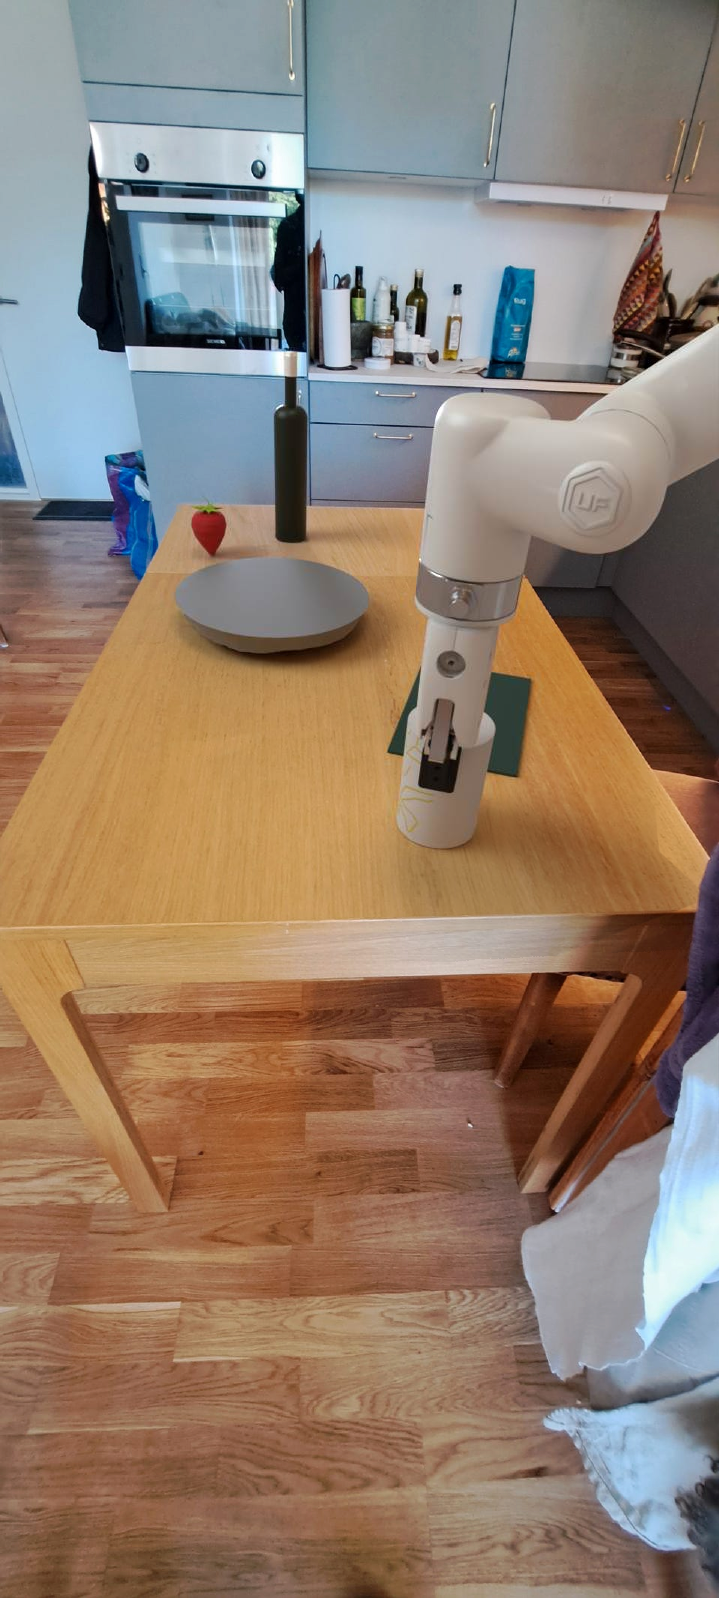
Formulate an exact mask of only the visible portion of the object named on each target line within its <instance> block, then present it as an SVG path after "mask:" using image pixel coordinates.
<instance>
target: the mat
mask: <svg viewBox="0 0 719 1598" xmlns="http://www.w3.org/2000/svg"><path fill="white" fill-rule="evenodd" d="M421 666H422V663H421V664H420V668H419V669H418V672H417V675H416V677H415V680H414V682H413V684H412V688H411V690H410V692H409V695H408V697H407V699H406V703H405V705H404V707H403V710H402V713H401V715H400V717H399V720H398V723H397V725H396V728H395V730H394V733H393V735H392V738H391V741H390V742H389V745H388V748H387V751H386V753H388V754H393V755H398V756H403V757H404V749H405V740H406V731H407V723H408V716H409V714H410V713H411V711H412V710H413V709H415V708H416V707H417V701H418V691H419V683H420V674H421ZM531 682H532V678H529V677H523V676H517V675H511V674H506V673H500V672H494V671H492V672H491V677H490V683H489V687H488V693H487V698H486V703H485V707H484V713H486V714H487V715H488V716H489V717H490V718H491V719H492V721H493V722H494V724H495V734H494V739H493V744H492V749H491V754H490V759H489V764H488V769H487V773H492V774H497V775H503V776H507V777H513V778H518V774H519V768H520V760H521V753H522V747H523V739H524V734H525V733H524V731H525V725H526V717H527V710H528V704H529V697H530V691H531V684H532V683H531Z"/></svg>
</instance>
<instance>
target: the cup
mask: <svg viewBox="0 0 719 1598" xmlns="http://www.w3.org/2000/svg"><path fill="white" fill-rule="evenodd" d="M416 712H417V707H416V708H415V709H413V710H412V711H411V713H410V714H409V716H408V723H407V731H406V740H405V749H404V756H403V757H402V758H403V759H402V767H401V777H400V784H399V792H398V793H399V794H398V802H397V810H396V824H397V827H398V829H399V831H400V832H401V834H402V835H403V836H405V838H406V839H408V840H409V841H411V842H412V843H415V844H417V845H420V846H423V847H426V848H430V849H439V850H440V849H441V850H443V849H444V850H446V849H452V848H453V849H454V848H457V847H459V846H462V845H465V844H466V843H467V842H469V841H470V840H471V839H472V837H473V836H474V834H475V831H476V827H477V822H478V817H479V813H480V808H481V807H480V806H481V802H482V797H483V794H484V793H483V792H484V787H485V782H486V779H487V778H486V777H487V774H488V772H487V769H488V764H489V759H490V754H491V749H492V744H493V739H494V734H495V724H494V722H493V721H492V719H491V718H490V717H489V716H488V715H487V714H486V713H484V712H483V717H482V721H481V726H480V730H479V734H478V738H477V742H476V744H475V745H474V746H473V747H471V748H467V747H464V746H460V747H462V751H461V757H460V763H459V768H458V774H457V780H456V784H455V788H454V792H453V793H445V792H440V791H435V790H429V789H424V788H420V787H419V786H418V780H419V772H420V765H421V757H422V750H423V747H424V744H425V740H426V735H425V737H422V739H420V738H419V737H418V736H417V735H416V733H415V725H416Z"/></svg>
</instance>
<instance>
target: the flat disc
mask: <svg viewBox="0 0 719 1598" xmlns="http://www.w3.org/2000/svg"><path fill="white" fill-rule="evenodd" d="M364 585H365V584H364V583H362V582H361V581H360V580H359V579H357V578H356V577H355V576H353V575H352V574H350V573H348V572H346V571H345V570H341V569H339V568H336V567H334V566H331V565H328V564H326V563H325V564H324V563H320V562H317V561H311V560H307V559H299V558H290V557H279V556H278V557H273V556H272V557H271V556H267V557H266V556H264V557H263V556H259V557H246V558H238V559H237V558H236V559H231V560H226V561H222V562H218V563H214V564H209V565H208V566H204V567H202V568H200V569H198V570H196V571H193V572H191V573H190V574H189V575H188V576H186V577H185V578H183V579H182V580H181V581H180V582H179V584H178V585H177V587H176V589H175V592H174V600H175V603H176V606H177V607H178V609H179V610H180V611H181V612H182V613H183V614H184V617H185V619H186V621H187V622H188V624H190V625H191V627H192V628H193V629H194V630H195V631H196V632H197V633H198V634H200V635H201V636H202V637H203V638H205V639H207V640H209V641H211V642H213V643H214V644H218V645H219V646H226V647H227V648H228V649H232V650H236V651H237V652H240V653H241V652H244V653H247V652H249V653H251V654H268V653H269V654H270V653H276V652H282V651H283V652H284V651H302V650H306V649H313V648H320V647H323V646H327V645H331V644H333V643H335V642H337V641H341V640H343V638H345V637H346V636H347V635H348V634H349V633H351V632H352V631H353V630H354V629H355V627H356V626H357V624H358V623H359V621H360V618H361V616H362V615H364V613H365V611H367V609H368V606H369V604H370V594H369V591H368V589H367V588H366V586H364Z"/></svg>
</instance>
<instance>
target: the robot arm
mask: <svg viewBox="0 0 719 1598" xmlns="http://www.w3.org/2000/svg"><path fill="white" fill-rule="evenodd" d="M432 433H433V434H432V440H431V449H430V456H429V457H430V458H429V466H428V467H429V468H428V476H427V485H426V493H425V503H424V504H425V505H424V512H423V521H422V531H421V542H420V549H419V550H420V551H419V559H418V568H417V576H416V577H417V578H416V585H415V593H414V606H415V607H416V609H417V610H418V611H419V612H420V613H421V614H422V615H424V616H425V617H427V621H426V628H425V636H424V644H423V650H422V657H421V664H422V666H421V665H420V667H421V674H420V683H419V691H418V701H417V712H416V725H415V733H416V735H417V736H418V737H419V738H420V739H422V737H425V735H426V740H425V744H424V747H423V750H422V757H421V765H420V772H419V780H418V786H419V787H420V788H424V789H429V790H435V791H440V792H445V793H453V792H454V788H455V784H456V780H457V774H458V768H459V763H460V757H461V751H462V747H460V746H464V747H467V748H471V747H473V746H474V745H475V744H476V742H477V738H478V734H479V730H480V726H481V721H482V717H483V712H484V707H485V703H486V698H487V693H488V687H489V683H490V677H491V672H493V666H494V661H495V656H496V650H497V644H498V639H499V632H500V626H502V625H505V624H507V623H509V622H510V621H512V620H513V619H514V618H515V616H516V613H517V608H518V602H519V598H520V594H521V593H520V592H521V587H522V582H523V577H524V574H525V568H526V563H527V557H528V553H529V549H530V543H531V540H532V539H531V538H532V536H533V537H535V538H538V539H540V540H543V541H545V542H548V543H550V544H554V545H556V546H559V547H561V548H564V549H566V550H570V551H574V552H579V553H582V554H583V553H584V554H594V555H600V554H607V553H612V552H616V551H619V550H623V549H624V548H626V547H629V546H630V545H632V544H634V543H635V542H636V541H638V540H639V539H640V538H642V536H644V535H645V533H646V532H647V531H648V530H649V529H650V527H651V526H652V525H653V523H654V522H655V520H656V518H658V516H659V513H660V511H661V509H662V506H663V503H664V501H665V497H666V493H667V489H668V487H669V486H670V485H673V484H674V483H677V482H678V481H680V480H681V479H683V478H685V477H687V476H689V475H690V474H693V473H694V472H696V471H698V470H699V469H702V468H704V467H706V466H707V465H709V464H711V463H714V462H715V461H716V460H719V323H717V324H715V325H714V326H712V327H711V328H708V329H707V330H706V331H705V332H703V333H701V334H699V335H698V336H697V337H695V338H693V339H692V340H690V341H689V342H686V343H685V344H684V345H682V346H680V347H679V348H678V349H676V350H675V351H672V352H671V353H670V354H668V355H667V356H665V357H664V358H662V359H660V360H658V361H657V362H656V363H654V364H653V365H651V366H650V367H648V368H647V369H645V370H643V371H642V372H640V373H639V374H637V375H636V376H634V377H633V378H631V379H629V380H628V381H626V382H625V383H623V384H621V385H620V386H619V387H617V388H615V389H614V390H612V391H611V392H609V393H608V394H606V395H605V396H603V397H602V398H600V399H599V400H597V401H595V403H593V404H592V405H590V406H589V407H588V408H587V409H585V410H584V411H582V413H581V414H580V415H579V416H578V417H576V419H573V420H560V419H552V418H551V415H550V413H549V412H548V410H547V409H546V408H545V407H544V406H543V405H542V404H540V403H538V402H536V401H535V400H532V399H530V398H527V397H522V396H519V395H518V396H517V395H513V394H506V393H498V392H465V393H460V394H456V395H454V396H453V395H452V396H450V397H449V398H448V399H447V400H445V401H444V402H443V403H442V405H441V406H440V407H439V409H438V411H437V413H436V415H435V420H434V425H433V432H432Z"/></svg>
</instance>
